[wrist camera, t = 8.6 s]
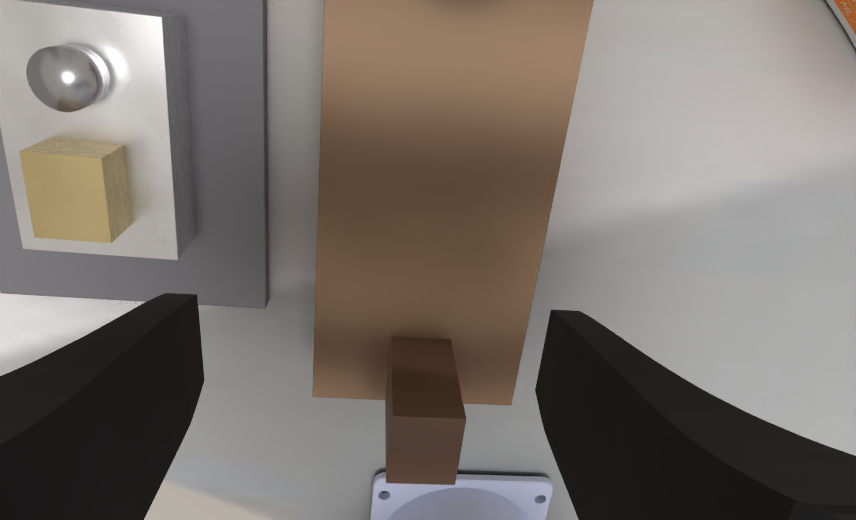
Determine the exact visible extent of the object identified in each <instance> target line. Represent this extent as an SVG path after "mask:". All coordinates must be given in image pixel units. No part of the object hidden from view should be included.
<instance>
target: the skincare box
mask: <svg viewBox="0 0 856 520" xmlns="http://www.w3.org/2000/svg"><path fill="white" fill-rule="evenodd" d="M826 1H827V2H828V4H829V5H830V7H831V8H832V10H833V12H834V13H835V15H836V16H837V18H838V19H839V21H840V23H841V24H842V25H843V27H844V29H845V30H846V32H847V34H848V35H849V37H850V39H851V41H852V43H853V44H854V46H855V48H856V0H826Z"/></svg>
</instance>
